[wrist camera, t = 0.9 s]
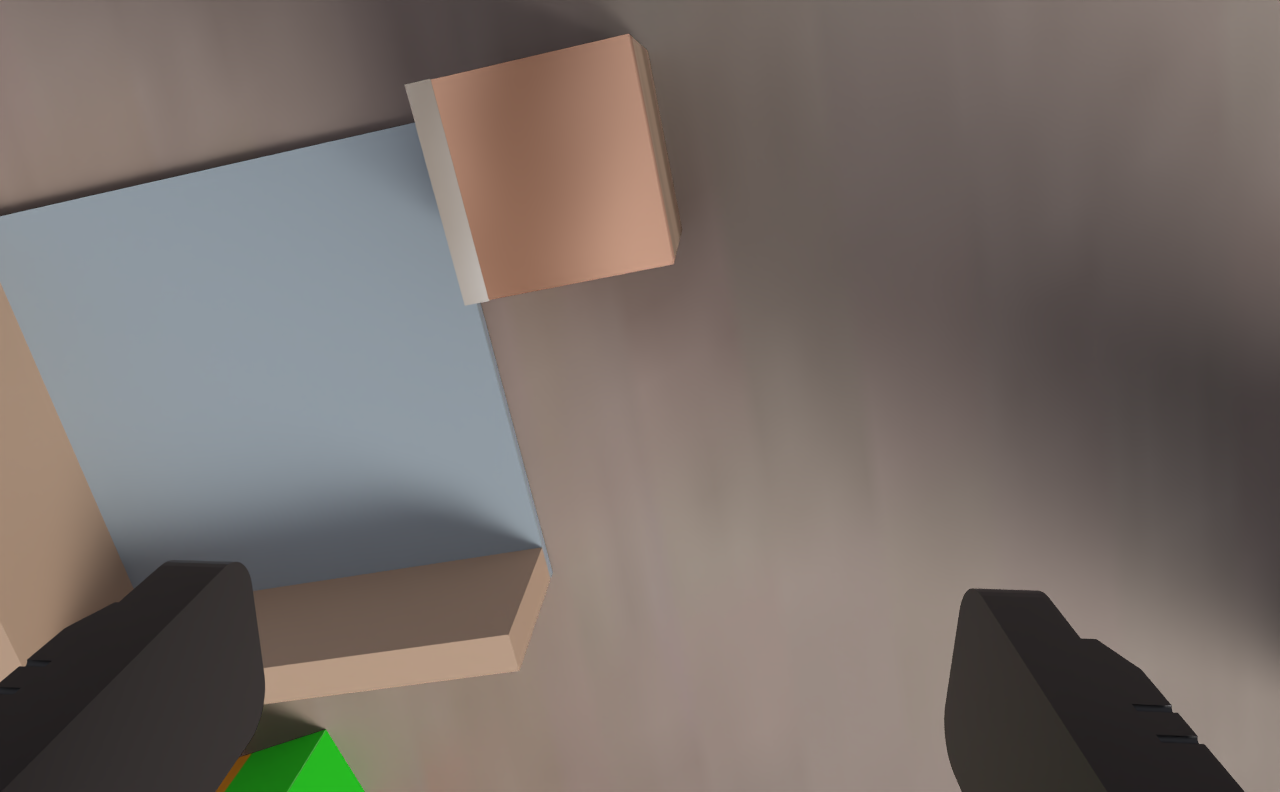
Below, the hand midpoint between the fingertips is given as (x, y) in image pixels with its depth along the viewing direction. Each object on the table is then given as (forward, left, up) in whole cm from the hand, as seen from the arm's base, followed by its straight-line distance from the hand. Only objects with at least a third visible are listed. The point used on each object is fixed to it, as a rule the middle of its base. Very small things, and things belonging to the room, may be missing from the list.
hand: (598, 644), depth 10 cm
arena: (+14, +1, -17) cm, 22 cm away
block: (+2, -5, -18) cm, 18 cm away
